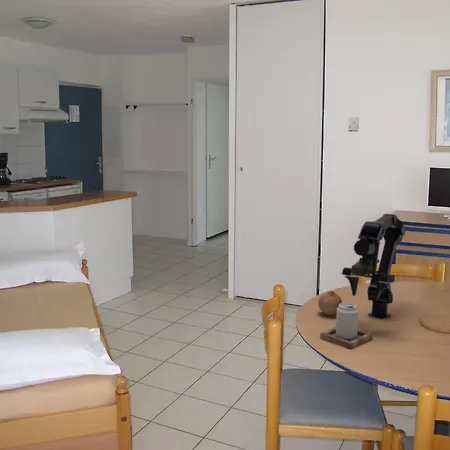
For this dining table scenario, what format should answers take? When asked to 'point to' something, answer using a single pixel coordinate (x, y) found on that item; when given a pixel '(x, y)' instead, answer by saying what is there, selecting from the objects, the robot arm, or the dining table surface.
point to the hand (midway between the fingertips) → (364, 298)
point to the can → (347, 321)
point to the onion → (329, 302)
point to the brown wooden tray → (350, 344)
